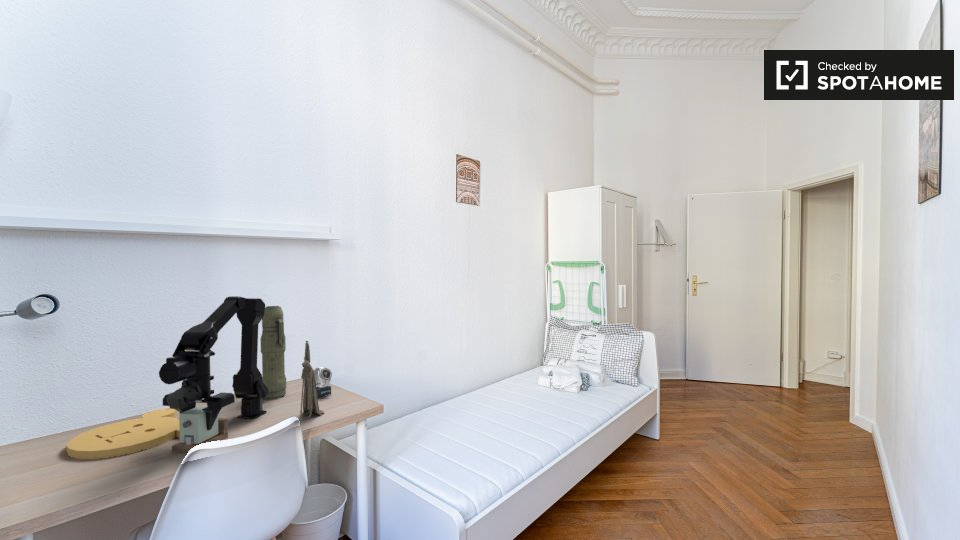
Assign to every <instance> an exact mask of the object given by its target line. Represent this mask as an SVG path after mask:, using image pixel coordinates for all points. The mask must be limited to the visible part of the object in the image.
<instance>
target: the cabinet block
mask: <svg viewBox="0 0 960 540" xmlns="http://www.w3.org/2000/svg"><path fill="white" fill-rule="evenodd" d="M206 407H208V406H207V405H198V406H196V407H195V408H193V409H190V410H187V411H185V412H182V413H180V412H179V413H178V414H179V417H178V419H179V427H180V438H179V442H180V443H185V442H186V437H188V436H190V435H193V436H194V444H199V443H201V442H203V441H205V440H207V439H209V438H211V437H213V436H215V435H217V434H218V418H219V415H218V416H217V418H216V420H215V422H214V424H213V426H212V429H211V430H207V426H206V413H205V412H204V411H203V410H202V409H203V408H206Z"/></svg>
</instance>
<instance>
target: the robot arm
mask: <svg viewBox="0 0 960 540" xmlns="http://www.w3.org/2000/svg"><path fill="white" fill-rule="evenodd" d="M265 308H266V303H265V301H264V300H263V299H262V298H259V297H258V298H257V297H256V298H249V297H248V298H246V297H243V296H237V295H235V296H226V298H224V300H223V302H222V303H221V304H220V305H219V306H218V307H217V308H216V309H215V310H214V311H213V312H212V313H211V314H210V315H209V316H208V317H207V318H206V319H205V320H204V321H202V322H201V323H198V324H196V325H193V326H192V327H190V328H188V330H186V331H184V332H183V334H182V335H181V337H180V340H179V342H178V343H177V346H176V348H175V349H174V352H173V354H172V356H171V357H167V358H166V359H165V362H164V364H162V366H161V367H160V369H159V371H158V375H159V379H160V380H161V381H162V383H164V384H165V385H174V384H176V383H179V382H181V387H180V388H178V389H176V390H174V391H173V392H170V393H167V394H165V395H164V396H163V398H162V406H164V407H169V409H175V410H176V411H177V412H179V414H180V413H182V412H185V411H187V410H190V409H193V408H195V407H197V403H198V404H199V403H200V404H201V403H202V404H203V403H204V404H206V406H208V407H206V408H203V409H202V410H203V411H204V412H205V413H206V426H207V430H211V429H212V426H213V424H214V422H215V420H216V418H217V416H218V417H219V414H220V412H221V411H222V409H223V408H225V407H227V406H229V405H231V404H234V403H235V399H236V400H238V399H241V400H240V401H241V403H240V414H238V415H237V416H236V417H237V418H239V419H240V418H241V419H243V418H244V419H256V418H258V417H260V416H262V415H263V414H265V413H267V410H263V398H265V397H266V396H267V395H268V388H267V387H266V385H265V384H264V383H263V382H262V373H261V371H260V369H259V368H258V348H259V347H258V344H259V324H260V322H262V318H263V317H264V311H265ZM235 315H236V318H237V320H238V322H239V323H240V324H241V333H240V334H241V339H240V341H241V342H240V363H239V365H240V367H239V370H237V373H235V374H233V376H232V386H231V387H232V390H233V393H232V392H219V393H217V394H215V389H211V387H212V386H211V381H214V379H215V376H214V375H211V357H213V356H215V355H216V352H215V351H213V350H211V349H212V348H213V346H214V345H215V343H216V342H217V341H218V339H219V338H218V336H219V332H220V331H221V330H222V329H223V328H224V326H226V325H227V324H228V322H229V321H230V320H231V319H232V318H233V317H234V316H235ZM213 394H214V395H213Z"/></svg>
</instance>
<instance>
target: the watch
mask: <svg viewBox="0 0 960 540" xmlns="http://www.w3.org/2000/svg"><path fill="white" fill-rule="evenodd" d="M313 370H314V375H315V381H316V390H317V397H318V399H320V397H321V398H323V396H324V397H326V396H325V395H327V396H329V395H328V394H331V395H332V386H331V385H330V382H331V380H332V376H333V372H332V371H331V369H329V368H327V367H326V366H319V367H315V368H314V369H313ZM321 380H322V382H323V384H322V382H321Z"/></svg>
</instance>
